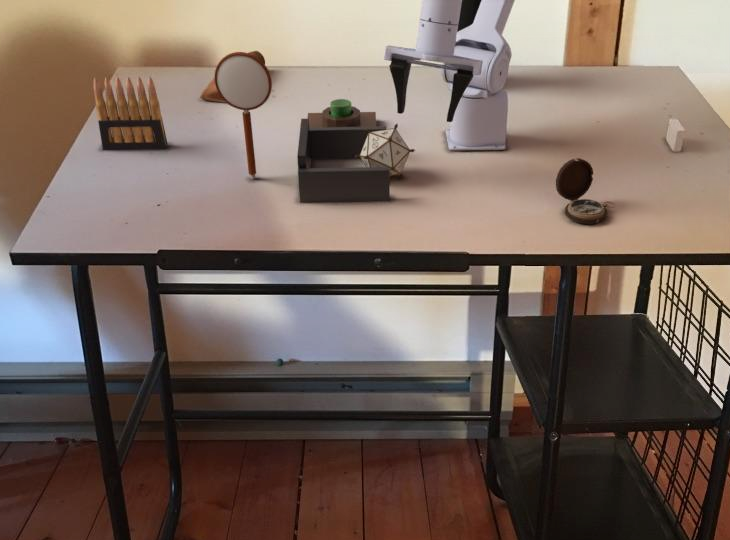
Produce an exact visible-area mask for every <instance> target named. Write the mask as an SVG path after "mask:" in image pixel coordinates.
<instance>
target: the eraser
mask: <svg viewBox="0 0 730 540" xmlns="http://www.w3.org/2000/svg"><path fill="white" fill-rule="evenodd" d="M685 132H686V130H685V129H684V127H683V126H682V124H681V123H680V121H679V120H678V118H670V119H669V123H668V127H667V132H666V138H665V140H666V142H667V144H668V145H669V147H670V149H671V150H672V152H674V153H675V152H677V153H678V152H681V151H682V147H683V143H684V138H685Z"/></svg>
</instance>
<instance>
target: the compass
mask: <svg viewBox="0 0 730 540" xmlns="http://www.w3.org/2000/svg"><path fill="white" fill-rule="evenodd" d="M593 175H594V169H593V167H592V165H591V163H589V162H588V161H587V160H586V159H583V158H579V157H574V158H571V159H569V160H568V161H566V162H564V164H563V165H562V166H561V167H560V168H559V170H558V172H557V174H556V178H555V190H556V192H557V193H558V195H559V196H560V197H561V198H563V199H565V200H569V201H570V202H569V203H567V204H566V205H565V207H564V215H565V216H566V217H567V219H569V220H570V221H573V222H574V223H578V224H583V225H593V224H598V223H601V222H603V221H604V220H605V219H606V218H607V217H608V210H607V209H614V208H615V207H616V203H615V202H613V201H604V202H603V203H601V202H599V201H597V200H594V199H587V198H582V197H583V196H584V195H585V194H586V193H587V192H588V191H589V189H590V188H591V186H592V183H593V182H594V181H593V180H594V178H593ZM608 203H609V204H612V205H613V206H609V205H608Z"/></svg>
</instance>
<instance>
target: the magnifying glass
mask: <svg viewBox="0 0 730 540" xmlns="http://www.w3.org/2000/svg"><path fill="white" fill-rule="evenodd" d="M213 78H214V79H215V85H216V89H217V91H218V93H219V94H220V96H221V97H222V99H223V100H224V101H225V102H227V103H226V104H228V105H229V106H231V107H232V108H235V109H237V110H241V111H242V112H241V114H242V123H243V132H244V141H245V142H244V143H245V153H246V161H247V170H248V175H249V176H250V179H251V180H255V179H256V174H257V167H256V166H257V165H256V157H255V146H254V137H253V127H252V126H253V125H252V117H251V111H252V110H253V111H254V110H256V109H258V108H260V107H262V106H263V105H264V104H265V103H267V101H268V99H269V98H270V97H271V93H272V88H273V82H272V81H273V80H272V75H271V72H270V71H269V69H268V67H267V66H266V63H265V64H264V63H263V62H262V61H261V60H260V59H258V58H257V57H255V56H254V55H252V54H249V52H246V51H245V52H244V51H235V52H231V53H228V54H226V55H225V56H224V57H222V58H221V59H220V61H218V63H217V65H216V68H215V71H214V77H213Z"/></svg>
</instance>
